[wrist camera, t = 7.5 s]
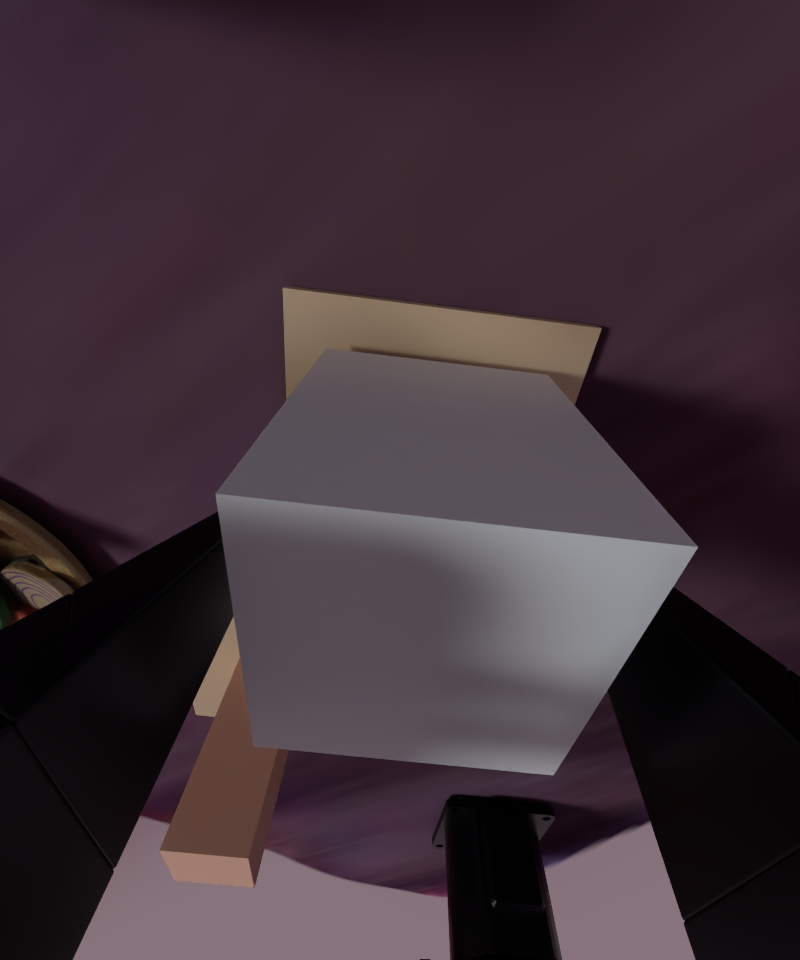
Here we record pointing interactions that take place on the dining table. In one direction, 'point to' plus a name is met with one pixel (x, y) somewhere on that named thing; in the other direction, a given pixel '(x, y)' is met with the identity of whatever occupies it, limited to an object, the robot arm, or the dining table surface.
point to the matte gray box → (437, 565)
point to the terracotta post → (225, 786)
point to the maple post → (432, 336)
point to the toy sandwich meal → (32, 566)
